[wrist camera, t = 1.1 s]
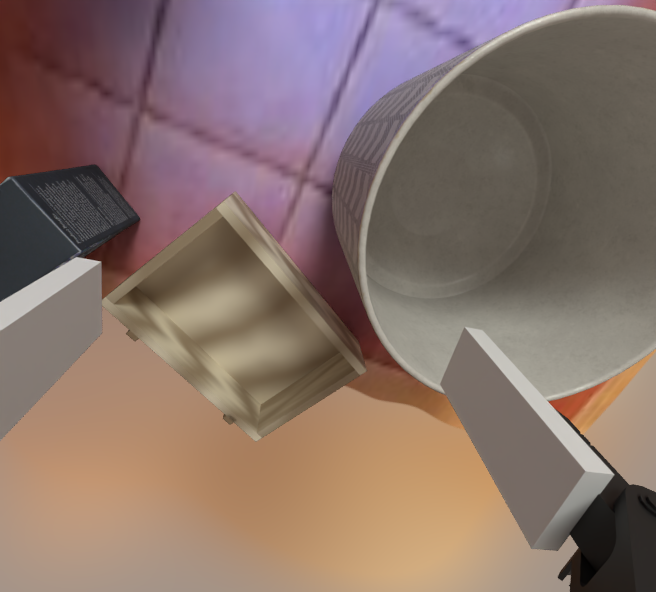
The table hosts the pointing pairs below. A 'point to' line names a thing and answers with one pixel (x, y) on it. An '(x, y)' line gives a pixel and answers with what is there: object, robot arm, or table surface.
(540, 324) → the planter
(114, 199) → the box
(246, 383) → the crate
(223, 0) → the table surface
